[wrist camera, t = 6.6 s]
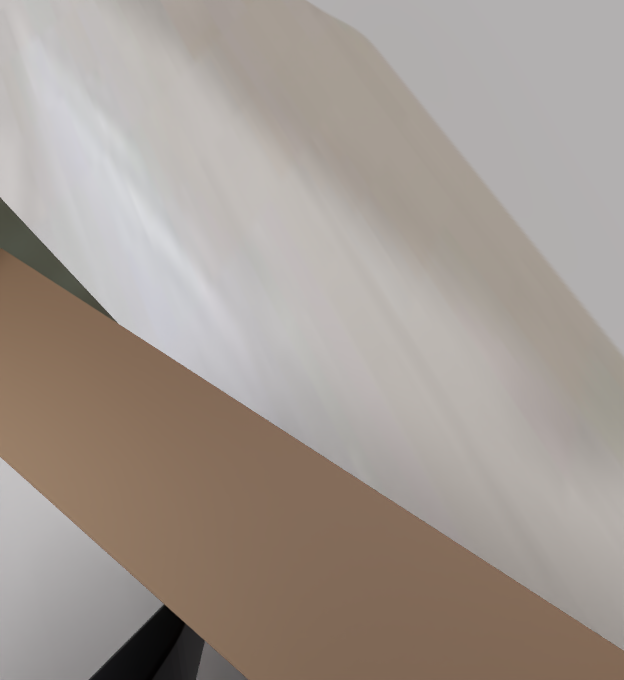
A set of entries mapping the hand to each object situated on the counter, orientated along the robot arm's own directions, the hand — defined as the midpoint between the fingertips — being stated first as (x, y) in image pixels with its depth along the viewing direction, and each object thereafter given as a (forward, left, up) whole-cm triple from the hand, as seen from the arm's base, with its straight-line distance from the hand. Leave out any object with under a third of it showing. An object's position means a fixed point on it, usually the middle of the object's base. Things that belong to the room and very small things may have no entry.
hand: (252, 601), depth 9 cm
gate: (-2, -3, -6) cm, 7 cm away
